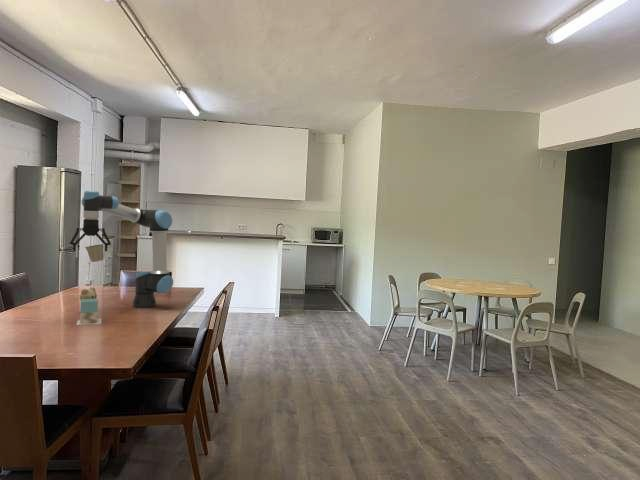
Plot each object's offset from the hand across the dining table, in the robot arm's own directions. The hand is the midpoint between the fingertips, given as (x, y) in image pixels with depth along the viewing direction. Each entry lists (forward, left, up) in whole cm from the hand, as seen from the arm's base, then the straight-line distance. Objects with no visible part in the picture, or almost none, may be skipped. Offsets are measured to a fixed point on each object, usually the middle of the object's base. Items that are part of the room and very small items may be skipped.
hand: (90, 257), depth 246 cm
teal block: (0, +2, -30) cm, 30 cm away
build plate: (0, +2, -37) cm, 37 cm away
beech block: (0, +2, -36) cm, 36 cm away
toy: (+2, -29, -37) cm, 47 cm away
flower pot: (-3, 0, -2) cm, 4 cm away
